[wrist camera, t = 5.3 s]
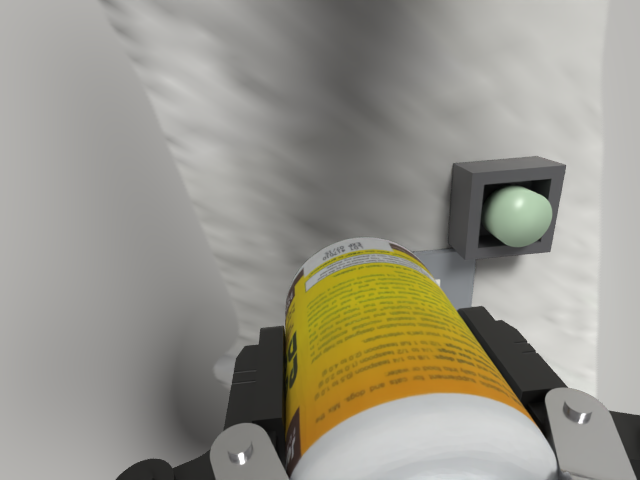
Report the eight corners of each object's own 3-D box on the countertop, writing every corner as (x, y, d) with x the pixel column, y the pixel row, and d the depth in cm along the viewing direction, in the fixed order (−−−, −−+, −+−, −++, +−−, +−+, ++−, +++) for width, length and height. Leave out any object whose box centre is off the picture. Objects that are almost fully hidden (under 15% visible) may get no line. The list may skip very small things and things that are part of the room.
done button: (483, 186, 25) (499, 195, 23) (537, 182, 25) (556, 190, 23) (478, 237, 27) (492, 249, 25) (529, 233, 27) (547, 244, 25)
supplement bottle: (265, 254, 14) (221, 645, 4) (417, 212, 14) (705, 529, 4) (307, 370, 16) (337, 787, 7) (437, 335, 16) (653, 716, 7)
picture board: (315, 261, 29) (316, 265, 28) (473, 246, 29) (477, 250, 29) (325, 376, 33) (325, 383, 32) (462, 361, 34) (465, 367, 33)
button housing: (453, 163, 27) (472, 173, 24) (537, 156, 27) (566, 165, 24) (447, 242, 29) (464, 260, 26) (525, 235, 29) (550, 251, 27)
